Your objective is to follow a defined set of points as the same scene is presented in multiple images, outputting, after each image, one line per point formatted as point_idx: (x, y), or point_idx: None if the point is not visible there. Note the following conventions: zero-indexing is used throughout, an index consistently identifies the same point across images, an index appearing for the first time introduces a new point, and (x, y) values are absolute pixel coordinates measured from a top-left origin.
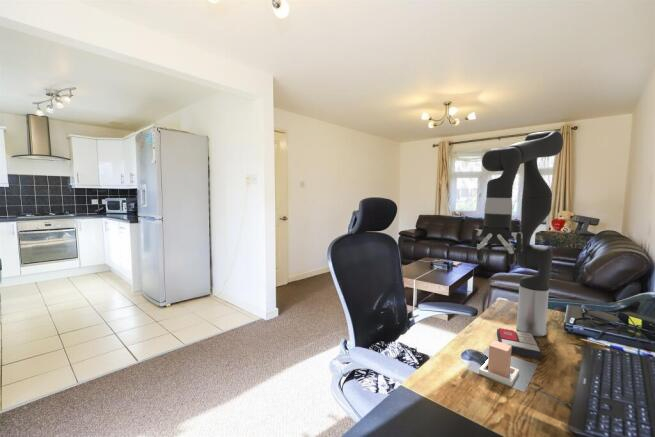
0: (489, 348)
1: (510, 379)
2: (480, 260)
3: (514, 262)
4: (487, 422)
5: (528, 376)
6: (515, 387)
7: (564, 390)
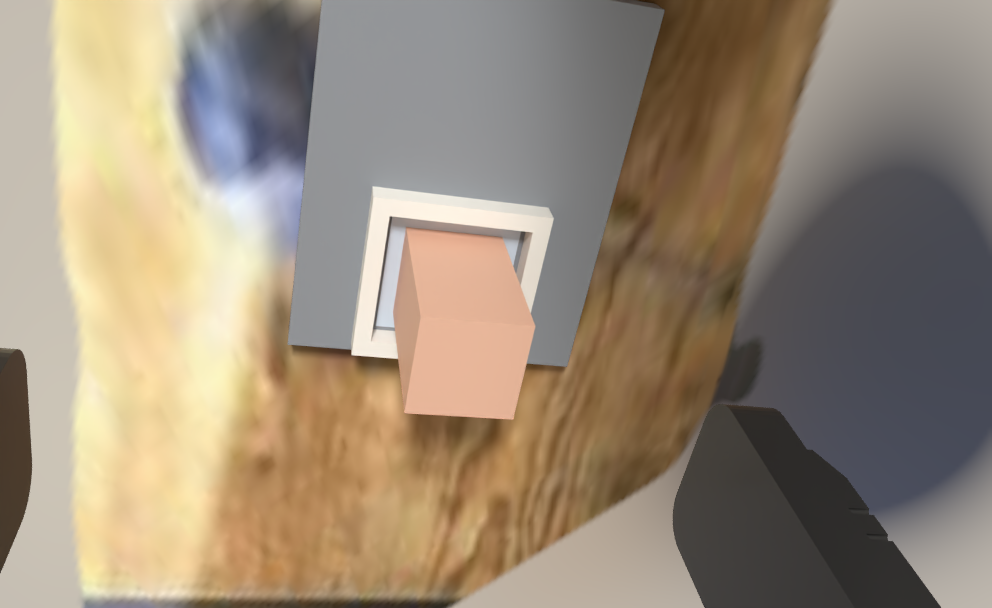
0: (404, 399)
1: None
2: (20, 511)
3: (834, 477)
4: (439, 577)
5: (595, 206)
6: (530, 354)
7: (751, 174)
